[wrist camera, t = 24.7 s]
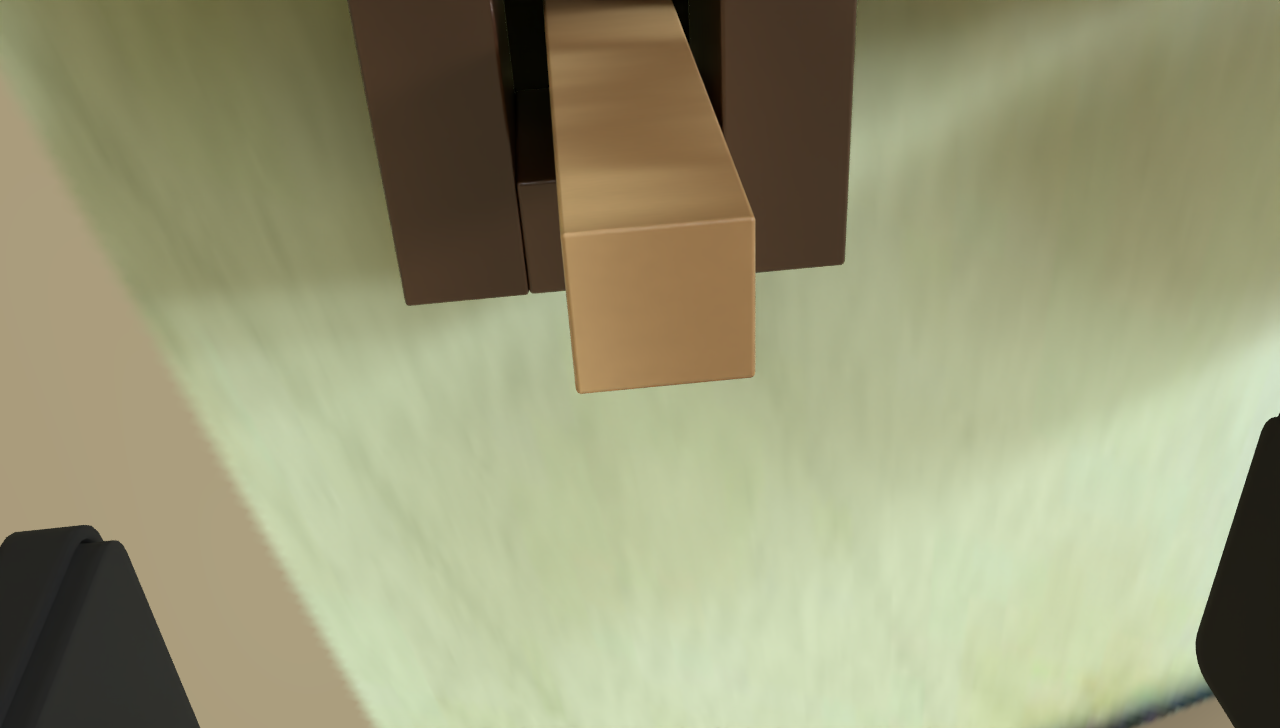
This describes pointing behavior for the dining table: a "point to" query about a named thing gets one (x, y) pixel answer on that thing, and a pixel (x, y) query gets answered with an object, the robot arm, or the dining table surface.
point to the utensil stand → (524, 152)
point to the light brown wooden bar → (645, 203)
